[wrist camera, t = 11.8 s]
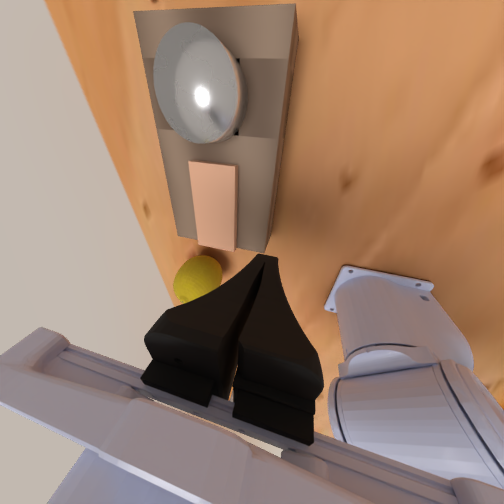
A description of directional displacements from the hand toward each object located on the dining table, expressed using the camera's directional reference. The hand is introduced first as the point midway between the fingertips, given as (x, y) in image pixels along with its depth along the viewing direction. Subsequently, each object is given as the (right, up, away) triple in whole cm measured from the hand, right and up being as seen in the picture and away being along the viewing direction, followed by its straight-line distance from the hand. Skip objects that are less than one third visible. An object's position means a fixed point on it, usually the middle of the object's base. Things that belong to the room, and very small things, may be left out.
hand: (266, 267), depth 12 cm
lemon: (-7, 0, +15) cm, 16 cm away
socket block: (-3, +11, +6) cm, 13 cm away
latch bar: (-4, +5, +5) cm, 8 cm away
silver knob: (-3, +14, +3) cm, 14 cm away
